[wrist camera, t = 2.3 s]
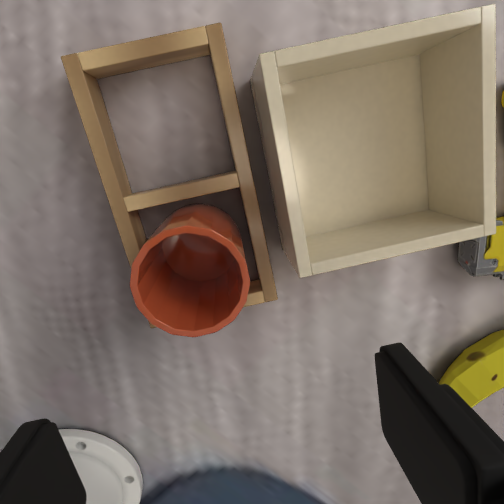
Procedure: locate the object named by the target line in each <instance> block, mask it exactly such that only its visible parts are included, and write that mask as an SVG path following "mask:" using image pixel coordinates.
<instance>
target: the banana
mask: <svg viewBox="0 0 504 504" xmlns="http://www.w3.org/2000/svg"><path fill="white" fill-rule="evenodd" d="M439 384H447V385H449V386H450V387H452V388H453V389H454V390H455V391H456V392H457V393H458V394H459V395H460V396H461V398H462V399H463V400H464V401H465V402H466V403H467V404H468V405H469V406H470V407H471V408H472V407H474V406H475V405H476V404H478V403H479V402H480V401H482V400H483V399H485V398H487V397H488V396H490V395H491V394H493V393H494V392H496V391H498V390H500V389H502V388H504V330H500V331H497V332H494V333H492V334H490V335H488V336H487V337H485V338H483V339H482V340H480V341H478V342H477V343H475V344H473V345H472V346H470V347H468V348H466V349H465V350H464V351H463V352H462V353H461V354H460V355H459V356H458V357H457V358H456V359H455V361H454V362H453V363H452V364H451V365H450V366H449V367H448V369H447V370H446V372H445V373H444V375H443V376H442V378H441V380H440V381H439Z"/></svg>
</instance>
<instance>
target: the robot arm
mask: <svg viewBox="0 0 504 504" xmlns="http://www.w3.org/2000/svg"><path fill="white" fill-rule="evenodd" d="M375 365H376V375H377V385H378V394H379V404H380V414H381V424H382V430H383V433H384V436H385V438H386V440H387V442H388V444H389V446H390V448H391V449H392V451H393V453H394V455H395V457H396V458H397V460H398V462H399V464H400V466H401V467H402V469H403V471H404V473H405V475H406V476H407V478H408V480H409V482H410V484H411V485H412V487H413V489H414V491H415V493H416V494H417V496H418V498H419V500H420V502H421V503H422V504H504V441H503V440H502V439H501V438H500V437H499V436H498V435H497V434H496V433H495V432H494V431H493V430H492V429H491V428H490V427H489V426H488V425H487V424H486V423H485V422H484V421H483V419H482V418H481V417H480V416H479V415H478V414H477V413H476V412H475V411H474V410H473V409H472V408H471V407H470V406H469V405H468V404H467V403H466V402H465V401H464V400H463V399H462V398H461V396H460V395H459V394H458V393H457V392H456V391H455V390H454V389H453V388H452V387H450V386H449V385H447V384H439V383H438V382H437V381H436V380H435V379H434V378H433V377H432V376H431V374H430V373H429V372H428V371H427V370H426V369H425V368H424V367H423V366H422V365H421V364H420V362H419V361H418V360H417V359H416V358H415V357H414V356H413V355H412V354H411V353H410V352H409V350H408V349H407V348H406V347H405V346H404V345H403V344H402V343H395V344H390V345H386V346H381V347H380V352H378V353H375ZM142 489H143V478H142V474H141V471H140V468H139V465H138V464H137V462H136V461H135V459H134V457H133V456H132V455H131V454H130V453H129V452H128V451H127V450H126V449H125V448H124V447H123V446H121V445H120V444H118V443H117V442H116V441H114V440H112V439H110V438H108V437H106V436H104V435H101V434H98V433H94V432H91V431H85V430H79V429H59V430H58V428H57V426H56V424H55V423H52V422H50V421H49V420H48V419H40V420H35V421H30V422H26V423H24V424H22V425H21V426H20V427H19V428H18V430H17V431H16V432H15V434H14V435H13V437H12V438H11V439H10V441H9V442H8V443H7V445H6V446H5V447H4V449H3V450H2V451H1V453H0V504H139V503H140V499H141V495H142Z"/></svg>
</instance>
